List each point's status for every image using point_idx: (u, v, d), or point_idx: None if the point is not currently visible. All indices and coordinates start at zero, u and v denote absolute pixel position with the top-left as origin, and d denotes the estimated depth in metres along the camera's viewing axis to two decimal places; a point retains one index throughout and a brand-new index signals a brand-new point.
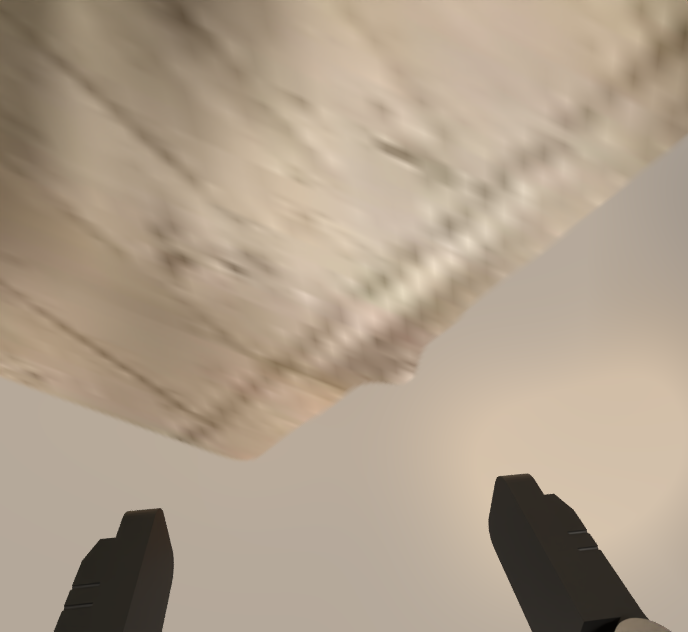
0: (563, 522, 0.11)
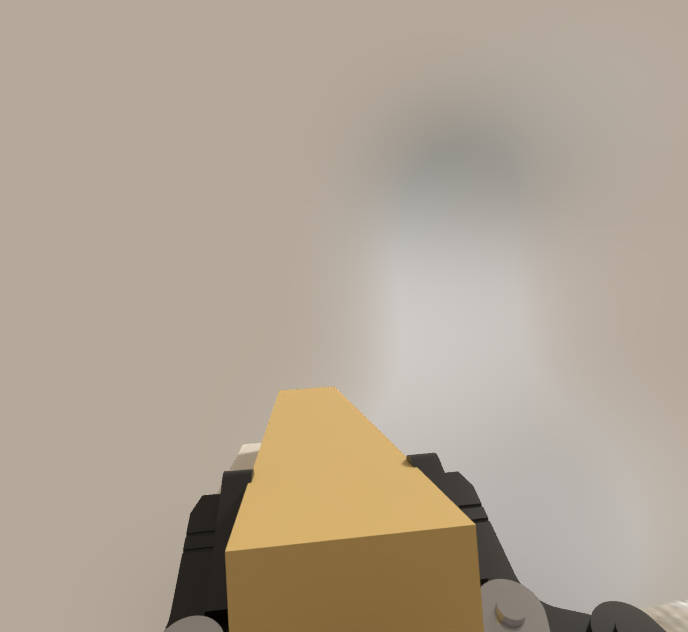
0: (460, 497, 0.11)
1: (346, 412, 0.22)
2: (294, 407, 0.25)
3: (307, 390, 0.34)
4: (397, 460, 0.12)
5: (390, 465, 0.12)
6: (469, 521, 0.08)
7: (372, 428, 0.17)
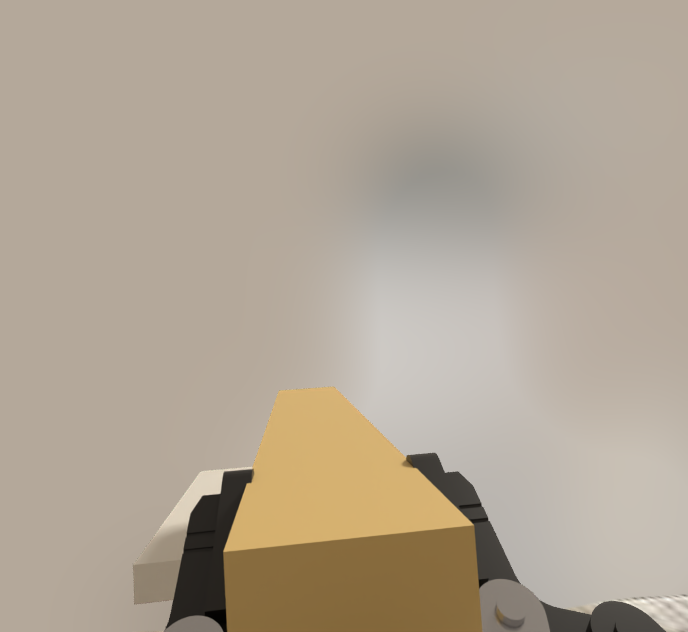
0: (461, 497, 0.11)
1: (345, 412, 0.22)
2: (294, 407, 0.25)
3: (307, 390, 0.34)
4: (396, 460, 0.12)
5: (389, 465, 0.12)
6: (468, 522, 0.08)
7: (371, 428, 0.17)
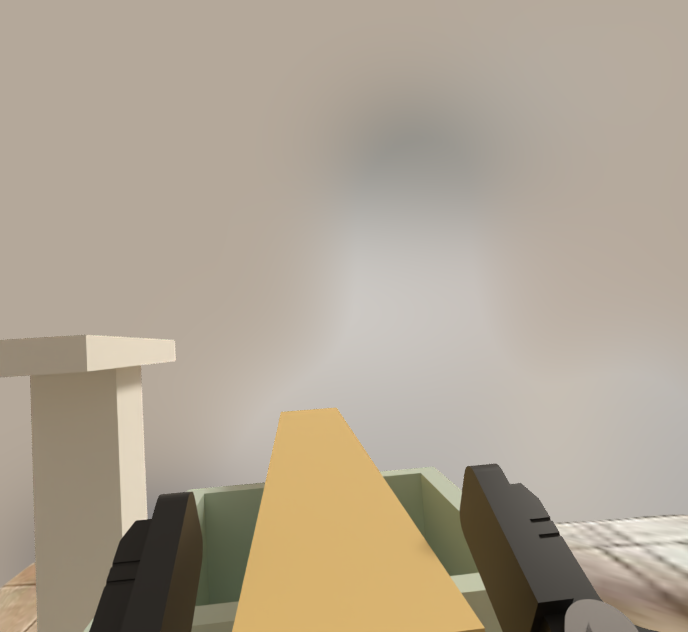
0: (527, 510, 0.11)
1: (349, 447, 0.22)
2: (296, 438, 0.25)
3: (309, 412, 0.34)
4: (402, 523, 0.12)
5: (395, 531, 0.12)
6: (478, 623, 0.08)
7: (375, 473, 0.17)
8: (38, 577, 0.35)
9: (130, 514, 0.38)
